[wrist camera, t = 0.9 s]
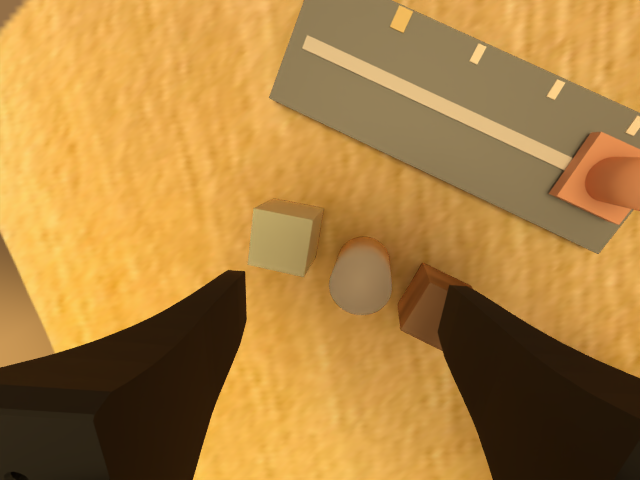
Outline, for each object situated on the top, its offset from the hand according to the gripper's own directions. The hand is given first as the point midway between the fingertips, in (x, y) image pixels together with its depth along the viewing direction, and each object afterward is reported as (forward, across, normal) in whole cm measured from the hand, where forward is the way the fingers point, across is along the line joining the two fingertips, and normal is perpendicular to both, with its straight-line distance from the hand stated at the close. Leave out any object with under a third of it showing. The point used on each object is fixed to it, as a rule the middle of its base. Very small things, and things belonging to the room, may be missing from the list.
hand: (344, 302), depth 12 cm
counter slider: (+10, -16, -3) cm, 19 cm away
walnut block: (+12, -8, +7) cm, 16 cm away
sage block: (+15, +3, +3) cm, 15 cm away
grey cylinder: (+13, -3, +5) cm, 15 cm away
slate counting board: (+14, -8, -6) cm, 17 cm away
